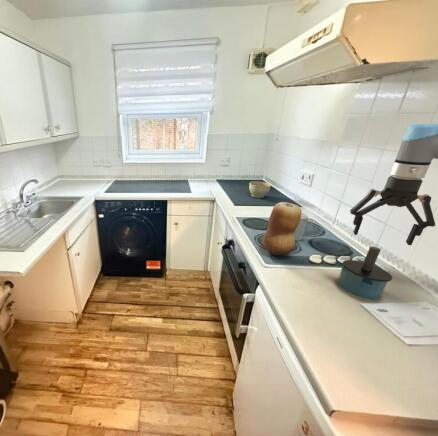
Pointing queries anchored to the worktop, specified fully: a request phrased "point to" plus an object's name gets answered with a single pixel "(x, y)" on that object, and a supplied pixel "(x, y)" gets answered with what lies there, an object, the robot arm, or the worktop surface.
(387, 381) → the worktop surface
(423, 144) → the robot arm
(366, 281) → the pot
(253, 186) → the planter bowl
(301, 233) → the clear glass cylinder
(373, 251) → the lid
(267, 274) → the worktop surface
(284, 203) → the butternut squash
